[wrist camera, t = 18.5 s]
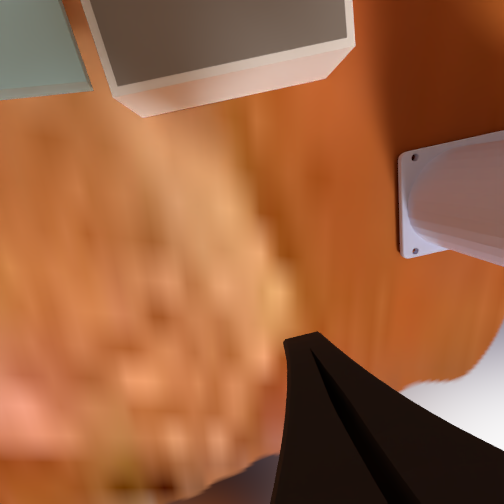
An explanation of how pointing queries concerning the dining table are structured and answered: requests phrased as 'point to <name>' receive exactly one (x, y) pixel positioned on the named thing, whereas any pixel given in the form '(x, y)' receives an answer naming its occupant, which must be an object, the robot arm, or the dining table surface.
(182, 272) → the dining table surface
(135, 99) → the carton
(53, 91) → the side flap
